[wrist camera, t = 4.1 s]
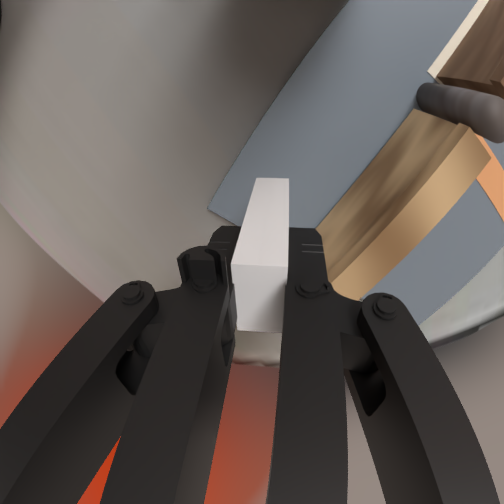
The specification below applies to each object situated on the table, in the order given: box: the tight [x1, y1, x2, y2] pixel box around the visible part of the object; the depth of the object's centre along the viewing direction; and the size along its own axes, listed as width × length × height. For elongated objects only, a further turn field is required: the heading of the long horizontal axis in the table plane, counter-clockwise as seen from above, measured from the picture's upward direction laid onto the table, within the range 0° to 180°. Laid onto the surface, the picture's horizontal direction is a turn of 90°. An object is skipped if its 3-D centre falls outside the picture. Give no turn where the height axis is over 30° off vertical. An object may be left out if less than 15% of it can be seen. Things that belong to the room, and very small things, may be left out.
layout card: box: [207, 0, 504, 325], centre depth 13 cm, size 21×27×1 cm
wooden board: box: [316, 109, 491, 301], centre depth 13 cm, size 11×2×6 cm, turn 149°
